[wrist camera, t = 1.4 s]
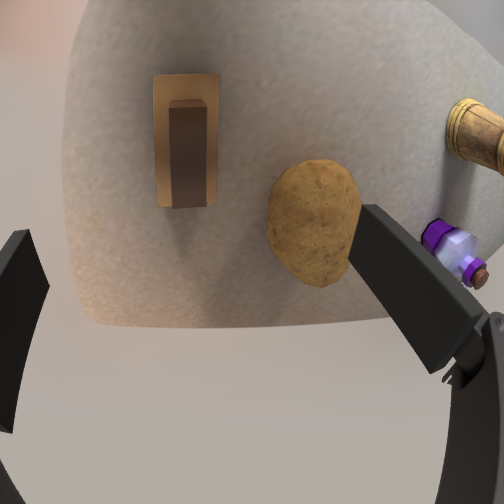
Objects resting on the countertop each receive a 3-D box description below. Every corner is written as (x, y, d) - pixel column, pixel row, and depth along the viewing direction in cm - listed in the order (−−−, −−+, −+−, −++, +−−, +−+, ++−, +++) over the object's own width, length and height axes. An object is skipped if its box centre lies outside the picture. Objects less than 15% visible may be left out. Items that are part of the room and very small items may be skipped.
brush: (156, 75, 21) (147, 78, 14) (214, 73, 22) (230, 75, 16) (159, 190, 27) (156, 235, 21) (211, 187, 28) (224, 230, 22)
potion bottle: (455, 230, 41) (502, 273, 32) (421, 264, 44) (464, 313, 34) (444, 198, 37) (501, 244, 27) (406, 237, 39) (458, 291, 30)
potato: (268, 267, 36) (289, 316, 30) (242, 157, 27) (266, 191, 21) (341, 243, 36) (374, 284, 30) (335, 135, 28) (380, 161, 22)
